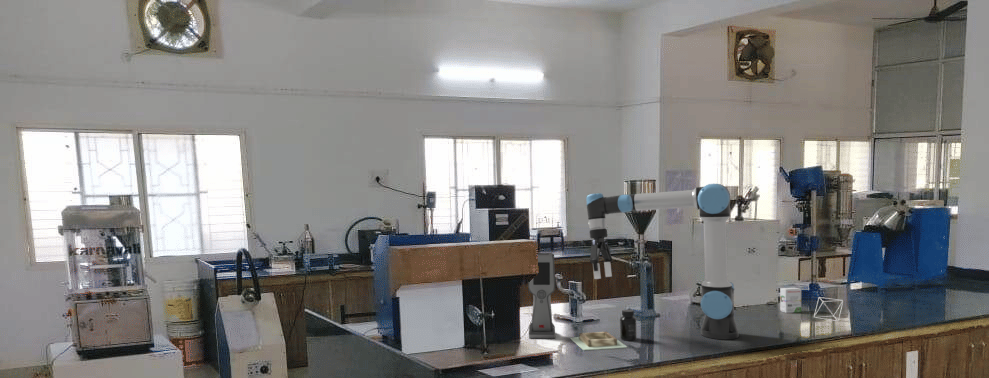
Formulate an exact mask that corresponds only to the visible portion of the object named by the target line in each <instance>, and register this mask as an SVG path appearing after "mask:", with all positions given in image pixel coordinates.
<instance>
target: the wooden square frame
mask: <svg viewBox="0 0 989 378" xmlns="http://www.w3.org/2000/svg"><path fill="white" fill-rule="evenodd" d="M578 337H579V339H580V340H581V341H582V342H583V343H585V344H586V345H587V346H588V347H596V346H612V345H617V340H618V339H617V338H616V337H615V336H614V335H612V334H611V333H609V332H607V331H595V332H579V333H578ZM604 338H605V339H604ZM590 339H594V340H590Z"/></svg>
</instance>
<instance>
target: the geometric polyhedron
mask: <svg viewBox="0 0 989 378" xmlns="http://www.w3.org/2000/svg"><path fill="white" fill-rule="evenodd" d="M822 299H824V296H823V297H822V296H818V299H817V303H816V307H815V311H814V314H813V319H814V318H816V319H818V316H816V315H817V314H818V312H819V310H820V309H821V307H822V305H823V304H824V306H825V307H826V309H827V310H828V311H829V313H831V316H832V317H834V319H835V320H834V319H833V321H835V322H839V321H840V317H841V313H842V308H843V304H844V300H843V299H836V298H833V301H836V302H841V303H840V304H839V306H838V308H837V309H836V311H835V312H834V313H833V312H832V311H831V309H830V308H829V307H828V305H827V304H826V303H827V302H829V303H830V302H831V298H830V297H825V299H826V300H822ZM827 299H829V300H827ZM819 300H820V301H821V304H820V306H819V307H818V304H819ZM817 308H818V309H817ZM839 309H840V311H839V315H838V319H837V317H836V313H837V312H838V310H839ZM821 317H822V318H821ZM821 317H820V319H823V320H825V317H828V318H826V321H827V320H828V321H831V319H829V317H830V315H826V316H821Z"/></svg>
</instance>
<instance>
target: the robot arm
mask: <svg viewBox="0 0 989 378" xmlns="http://www.w3.org/2000/svg"><path fill="white" fill-rule="evenodd" d="M585 200H586V209H587V218H588V222H587V225H588V226H589V237H590V239H591V240H590V245H591V246H590V259H589V262H590V264H591V265H592V270H593V279H594V280H599V279H602V276H601V267H600V265H601V264H600V263H599V260H600V255H601V256H602V258H603V260H604V262H603V264H604V265H603V266H604V275H605V278H610V277H613V274H612V265H611V262H613V257H612V255H611V251H610V248H609V243H608V239H605V238H608V229H607V227H608V226H607V225H608V224H607V218H606V215H609V214H611V215H613V214H620V213H621V214H622V213H624V214H625V213H629V212H630V213H631V212H637V211H638V212H639V211H656V210H671V209H672V210H674V209H689V208H690V209H693V208H694V209H696V210H697V211H698V212H699V219H701V221H702V222H703V245H704V246H703V247H704V248H703V251H704V280H703V282H701V299H700V309H701V310H702V312H703V313H704V318H703V321H702V324H701V327H700V335H701V336H703V337H705V338H710V339H714V340H734V339H735V340H736V339H737V338H739V329H738V326H737V323H736V320H735V286H734V283H733V282H730V281H729V279H728V277H729V275H728V273H729V272H728V249H727V247H728V246H727V245H728V243H727V221H728V220H729V219H730V217H731V208H730V207H731V206H730V203H731V193H730V191H729V189H728V188H727V187H726V186H724V185H723V184H720V183H708V184H706V185H704V186H700V187H699V186H697V187H695V188H694V189H687V190H675V191H674V190H673V191H662V192H661V191H660V192H659V191H658V192H645V193H633V194H620V195H613V196H604V194H603V193H602V192H600V193H599V192H598V193H590V194H588V195H587V196H586V199H585Z"/></svg>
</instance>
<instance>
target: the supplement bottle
mask: <svg viewBox="0 0 989 378" xmlns="http://www.w3.org/2000/svg"><path fill="white" fill-rule="evenodd" d="M634 315H635V314H634V310H633V309H622V310H621V316H620V318H619V338H620V340H622V341H626V342H633V341H636V340H637V338H638V335H637V333H638V332H637V318H636V317H635V316H634Z"/></svg>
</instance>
